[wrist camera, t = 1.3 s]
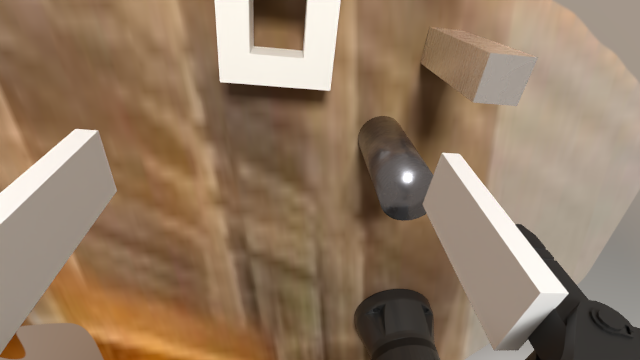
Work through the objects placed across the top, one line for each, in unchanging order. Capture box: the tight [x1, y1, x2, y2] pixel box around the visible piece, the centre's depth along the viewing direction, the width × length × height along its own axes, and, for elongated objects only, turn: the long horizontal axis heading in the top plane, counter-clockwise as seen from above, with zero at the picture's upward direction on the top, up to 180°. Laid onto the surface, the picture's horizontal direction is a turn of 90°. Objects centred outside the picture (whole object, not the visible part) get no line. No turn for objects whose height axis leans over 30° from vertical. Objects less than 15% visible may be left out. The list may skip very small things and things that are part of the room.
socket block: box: [215, 0, 341, 91], centre depth 35 cm, size 12×12×4 cm
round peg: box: [358, 116, 433, 220], centre depth 39 cm, size 6×6×14 cm
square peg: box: [421, 27, 538, 106], centre depth 33 cm, size 4×4×14 cm
